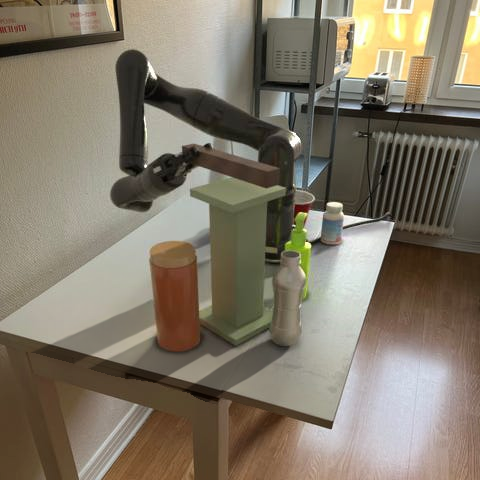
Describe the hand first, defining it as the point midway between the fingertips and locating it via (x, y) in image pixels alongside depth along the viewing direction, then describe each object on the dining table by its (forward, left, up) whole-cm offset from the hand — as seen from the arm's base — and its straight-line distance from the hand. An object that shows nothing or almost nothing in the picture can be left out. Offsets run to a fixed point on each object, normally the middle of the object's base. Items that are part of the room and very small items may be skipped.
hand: (203, 149), depth 97 cm
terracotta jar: (+10, +12, -35) cm, 39 cm away
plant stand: (-4, +9, -35) cm, 37 cm away
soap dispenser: (-21, +2, -36) cm, 41 cm away
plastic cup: (-36, -33, -36) cm, 60 cm away
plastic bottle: (-11, +20, -36) cm, 42 cm away
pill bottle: (-44, -24, -36) cm, 62 cm away
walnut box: (-3, +6, -3) cm, 8 cm away
